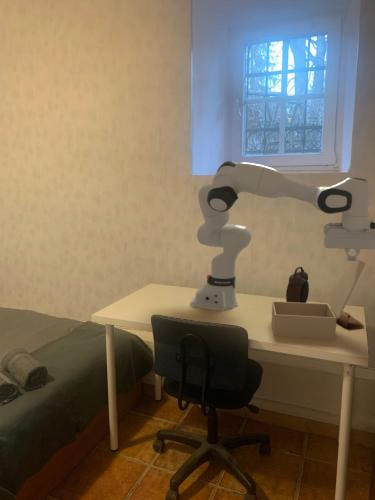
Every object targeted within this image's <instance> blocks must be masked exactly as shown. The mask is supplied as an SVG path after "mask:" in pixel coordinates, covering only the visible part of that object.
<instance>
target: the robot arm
mask: <svg viewBox="0 0 375 500" xmlns="http://www.w3.org/2000/svg"><path fill="white" fill-rule="evenodd" d="M370 185H371V184H370V182H369V181H368V180H366V179H365V178H359V177H353V176H350V177H347V178H346V179H344V180H343V181H340V182H338V183H336V184H334V185H322V186H315V185H309V184H305V183H302V182H298V181H295V180H293V179H291V177H290V178H289V177H288V176H286V174H284V172H281V171H280V170H277V169H275V168H273V167H270V166H267V165H263V164H258V163H253V162H246V161H245V162H244V161H243V162H235V161H232V160H229V161H228V160H227V161H225V162H223V163H221V165H220V166H219V167H218V169H217V171H216V174H215V175H214V176H213V180H212V182H211V183H207V184H203V186H202V187H200V188H199V191H198V194H197V195H198V197H197V198H198V203H199V207H200V211H201V213H202V216H203V219H204V223H203V224H201V225H200V226H198V229H197V231H196V238H197V241H198V242H199V244H200V245H204V246H206V247H214V248H223V249H222V253H220V254H217V255H215V256H214V257H213V258H212V259H211V267H210V268H211V272H210V273H211V274H210V273H208V274H207V275H206V283H205V284H203V285H202V286H201V287H200V288H198V289H197V291H196V293H195V297H193V298H192V299H191V300H190V303H189V304H190V306H191V307H192V308H198V309H207V310H213V311H225V310H230V309H234V308H236V307H237V306H238V301H237V297H236V284H237V283H236V276H235V274H236V273H235V271H236V262H237V259H238V256H239V254H240V253H241V252H242V251H243V250H244V249H246V248H247V247H248V246H249V244H250V243H251V239H252V233H251V231H250V229H249V227H248V226H246V225H245V226H244V225H241V224H232V223H230V224H229V223H228V222H229V220H230V216H231V215H230V212H229V210H230V209H231V208H232V207H233V205H235V203H236V201H237V200H238V199H239V196H238V195H239V194H240V193H243V192H244V193H249V194H252V195H255V196H259V197H261V198H262V197H263V198H269V199H270V198H271V199H272V198H273V199H277V198H283V197H284V198H290V199H291V198H292V199H296V200H299V201H303V202H305V203H309V204H311V205H312V206H314V207H315V209H317V210H318V211H320V212H322V213H325V214H327V215H334V214H339V213H341V222H328V223H326V224H325V225H324V227H323V234H324V236H323V242H322V245H323V246H324V247H325V249H341V250H342V249H343V252H344V253H345V255H346V261H347V262H348V261H356V257H357V258H358V255H359V254H360V253H361V250H375V220H374V219H369V206H370V203H371V186H370ZM350 250H354V251H355V252H354V254H353V255H352V254H350V253H349V252H350Z"/></svg>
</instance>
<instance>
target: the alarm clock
mask: <svg viewBox="0 0 375 500" xmlns="http://www.w3.org/2000/svg"><path fill="white" fill-rule="evenodd" d="M299 270H300V271H299ZM308 280H309V275H308V273H307V272H306V271H305V269H304V268H303V267H302V266H297V267H296V268H295V269H294V273H293V274H291V275H290V276H289V278H288V283H287V287H286V292H285V300H286V301H285V302H297V303H308V302H307V301H308V298H309V291H310V285H309V282H308Z"/></svg>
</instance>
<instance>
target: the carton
mask: <svg viewBox="0 0 375 500" xmlns="http://www.w3.org/2000/svg"><path fill="white" fill-rule="evenodd" d="M336 320H337V318H336V316H335V315H334V313H333V311H332V310H331V307H330V305H329V304H328V303H319V302H317V303H315V302H314V303H312V302H306V303H297V302H286V301H275V300H273V301H272V305H271V327H272V332H273V337H280V338H291V339H292V338H294V339H308V340H319V341H321V340H322V341H334V342H335V341H336V333H337V330H336V329H337V322H336Z"/></svg>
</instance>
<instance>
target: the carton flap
mask: <svg viewBox="0 0 375 500" xmlns="http://www.w3.org/2000/svg"><path fill="white" fill-rule="evenodd" d="M351 255H354V254H353V253H352V254H351ZM365 266H366V263H365V262H364V261H363V260H361V259H360V258H359V257H358V256H357V257H356V261H347V263H346V265H345V268H344V270H343V272H342V274H341V276H340V279H339V280H338V282H337V284H336V287H335V288H334V290H333V293H332V295H331V297H330V299H329V301H328V303H327V304H328V305H329V307H330V308H332V310H333V312H334V313H335V315H336V316H337V318H339V317H340V315H341V313H342V311H344V309H345V307H346V305H347V302H348V301H349V299H350V297H351V295H352V293H353V291H354V289H355V286H356V284H357V282H358V280H359V278H360V276H361V274H362V272H363V270H364V268H365Z"/></svg>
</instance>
